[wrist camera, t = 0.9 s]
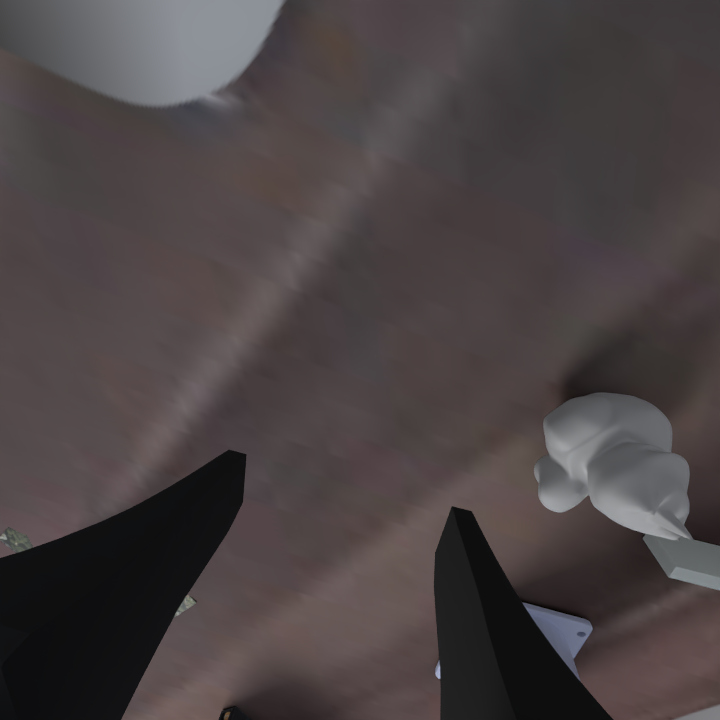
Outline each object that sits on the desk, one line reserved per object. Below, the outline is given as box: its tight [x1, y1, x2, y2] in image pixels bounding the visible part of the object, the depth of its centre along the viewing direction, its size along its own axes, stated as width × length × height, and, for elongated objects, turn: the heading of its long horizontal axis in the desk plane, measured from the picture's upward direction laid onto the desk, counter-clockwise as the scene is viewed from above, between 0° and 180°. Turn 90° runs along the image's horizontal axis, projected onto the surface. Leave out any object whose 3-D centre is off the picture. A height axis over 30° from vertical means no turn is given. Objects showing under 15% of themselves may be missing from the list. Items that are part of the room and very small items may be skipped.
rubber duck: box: [534, 392, 694, 541], centre depth 16 cm, size 5×7×8 cm
